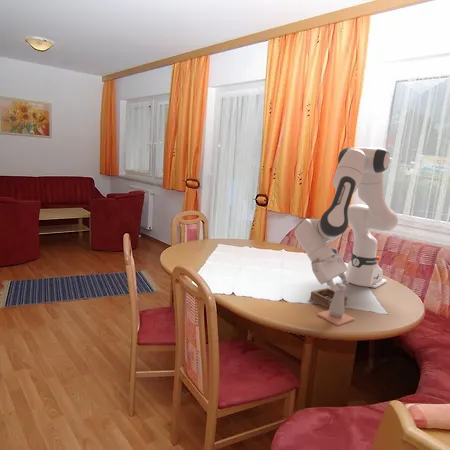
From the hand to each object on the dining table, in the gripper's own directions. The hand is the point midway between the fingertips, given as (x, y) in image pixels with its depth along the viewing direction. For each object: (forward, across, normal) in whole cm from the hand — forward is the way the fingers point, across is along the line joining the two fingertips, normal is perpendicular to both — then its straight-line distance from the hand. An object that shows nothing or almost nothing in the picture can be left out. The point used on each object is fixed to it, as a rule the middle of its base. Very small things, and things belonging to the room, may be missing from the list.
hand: (342, 287), depth 143 cm
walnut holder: (+2, +13, +16) cm, 20 cm away
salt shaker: (+8, 0, +9) cm, 12 cm away
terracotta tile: (+8, 0, +9) cm, 13 cm away
